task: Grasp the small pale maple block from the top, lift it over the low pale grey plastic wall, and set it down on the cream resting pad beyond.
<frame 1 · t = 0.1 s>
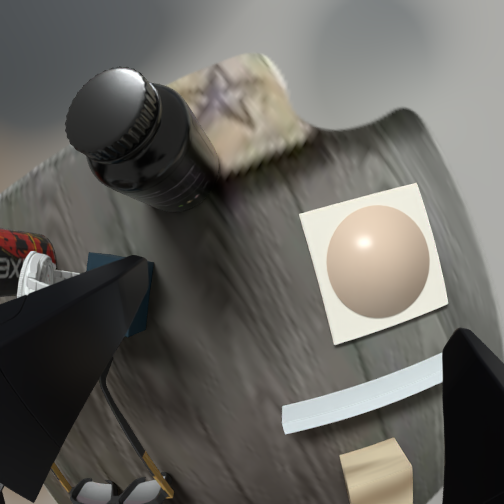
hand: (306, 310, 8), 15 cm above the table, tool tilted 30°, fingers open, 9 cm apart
watch: (126, 291, 24), on the table
deodorant: (37, 263, 25), on the table
supplement bottle: (180, 173, 24), on the table
resting pad: (379, 261, 22), on the table
sunglasses: (97, 432, 24), on the table
maple block: (369, 465, 21), on the table
low wall: (368, 387, 22), on the table
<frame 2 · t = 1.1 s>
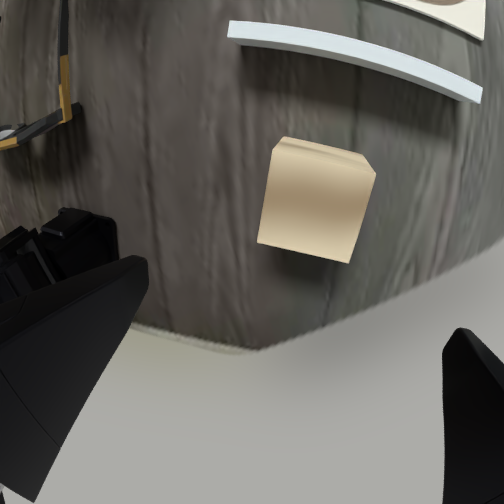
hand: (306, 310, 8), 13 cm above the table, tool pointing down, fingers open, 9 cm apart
sunglasses: (38, 59, 18), on the table
maple block: (315, 181, 19), on the table
low wall: (357, 57, 15), on the table
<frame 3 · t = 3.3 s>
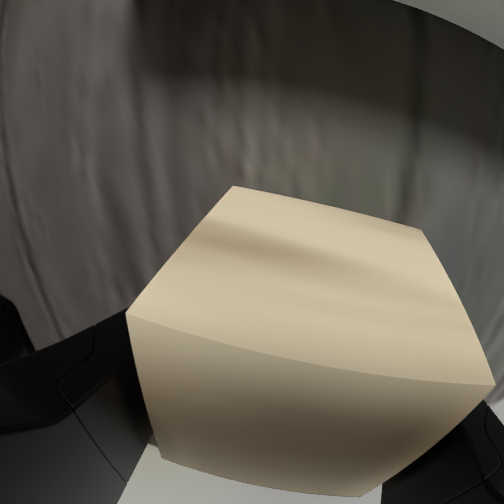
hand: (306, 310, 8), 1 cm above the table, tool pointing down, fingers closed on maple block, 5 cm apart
maple block: (309, 287, 9), on the table, touching gripper
when the fingers open (3 cm above the table, at t = 9.1 s): maple block drops 1 cm, resting on resting pad.
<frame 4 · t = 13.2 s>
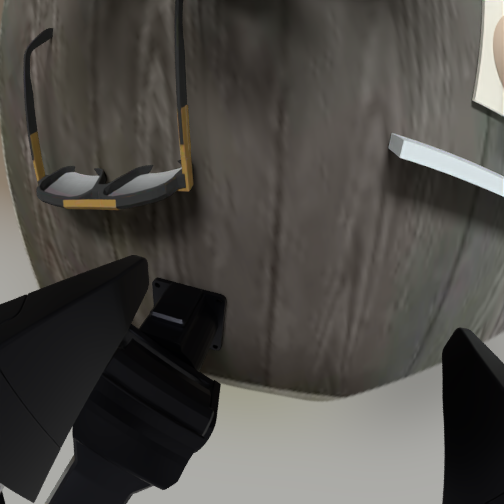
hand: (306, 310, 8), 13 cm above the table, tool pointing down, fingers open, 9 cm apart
sunglasses: (118, 92, 19), on the table
low wall: (479, 173, 16), on the table
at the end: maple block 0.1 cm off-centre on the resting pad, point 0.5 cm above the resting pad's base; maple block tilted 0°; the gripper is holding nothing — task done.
